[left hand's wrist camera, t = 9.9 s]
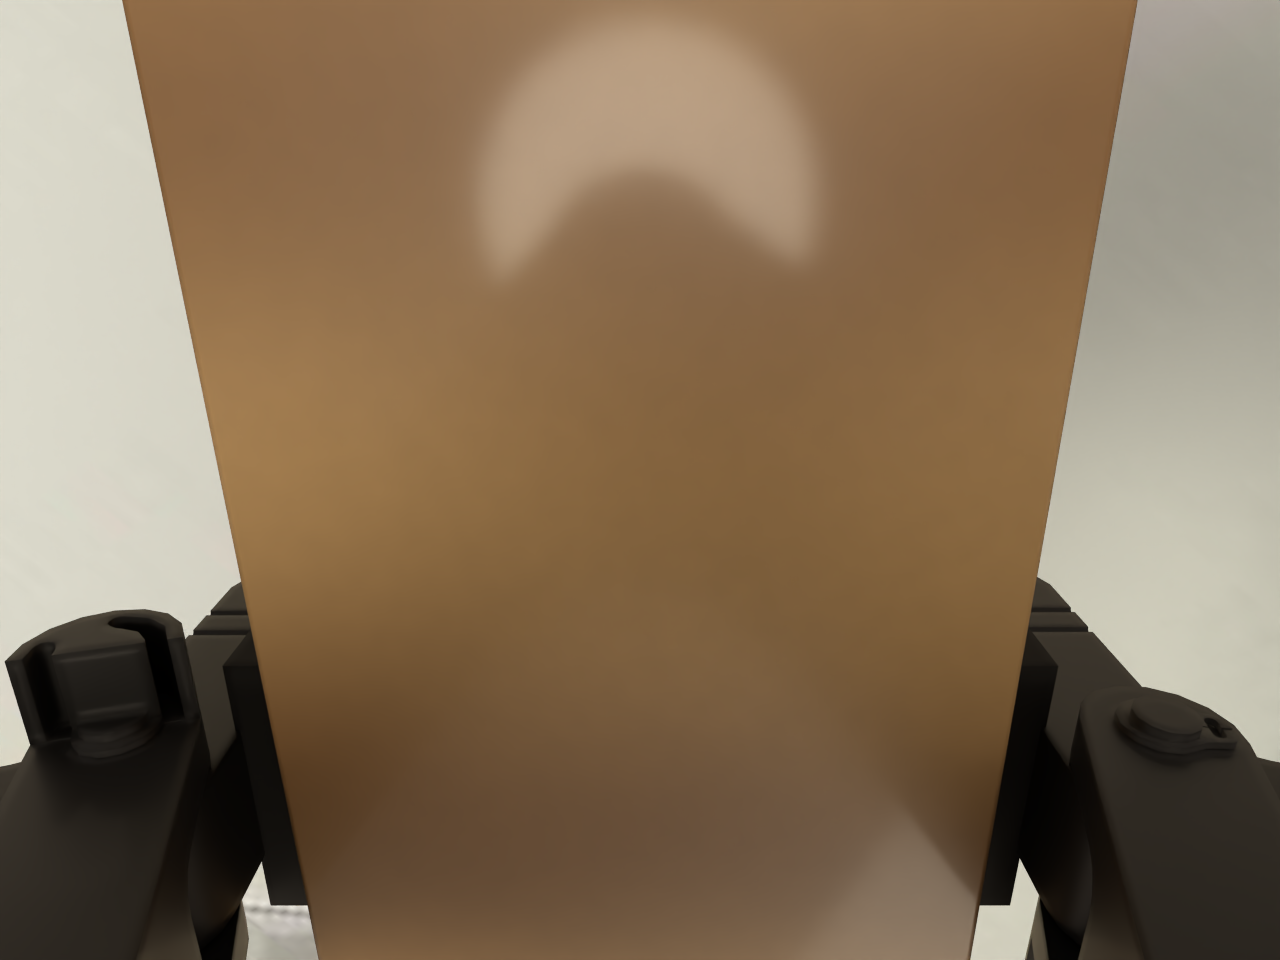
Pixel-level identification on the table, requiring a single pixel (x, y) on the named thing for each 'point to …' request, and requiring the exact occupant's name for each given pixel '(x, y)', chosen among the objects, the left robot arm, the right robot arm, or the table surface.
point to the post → (636, 445)
